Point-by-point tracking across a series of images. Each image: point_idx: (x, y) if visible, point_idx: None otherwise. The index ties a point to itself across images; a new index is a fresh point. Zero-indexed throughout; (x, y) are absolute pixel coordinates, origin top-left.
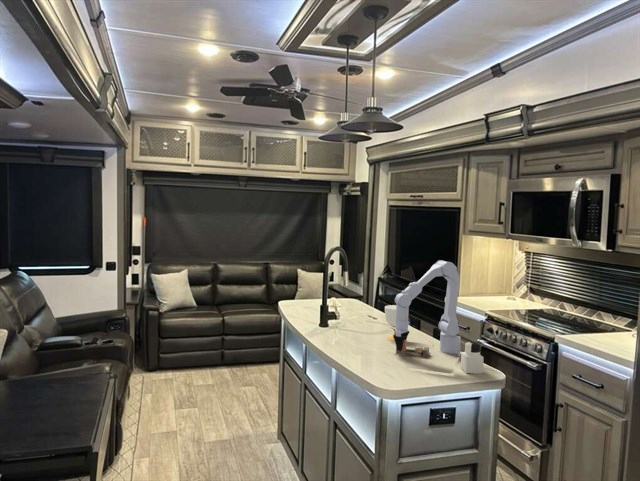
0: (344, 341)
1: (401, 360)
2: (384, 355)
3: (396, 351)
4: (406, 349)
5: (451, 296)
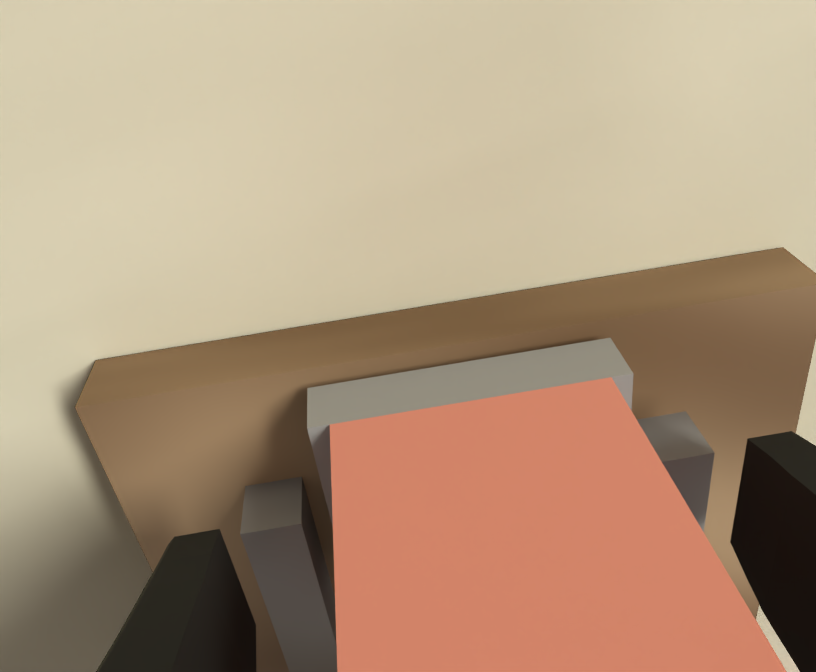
0: None
1: (12, 562)
2: (54, 35)
3: (307, 425)
4: None
5: None
